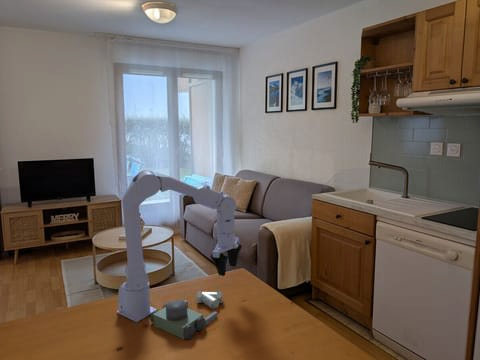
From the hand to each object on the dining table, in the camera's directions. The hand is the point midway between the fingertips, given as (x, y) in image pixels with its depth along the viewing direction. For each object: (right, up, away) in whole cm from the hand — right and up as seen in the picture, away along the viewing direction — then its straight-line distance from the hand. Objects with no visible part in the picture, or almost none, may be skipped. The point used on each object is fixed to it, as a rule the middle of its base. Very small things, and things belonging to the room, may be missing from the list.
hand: (227, 270), depth 118 cm
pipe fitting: (-6, -11, -3) cm, 13 cm away
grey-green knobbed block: (-12, -12, -13) cm, 21 cm away
